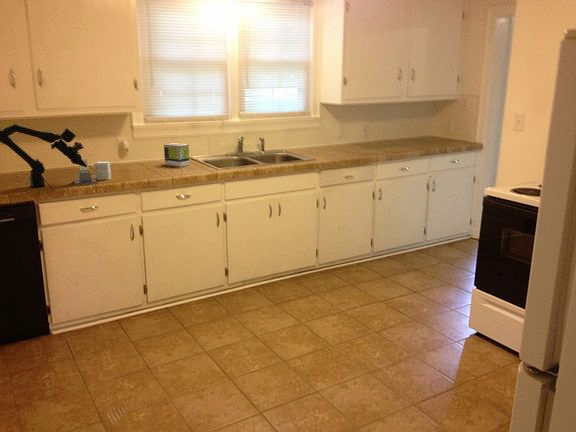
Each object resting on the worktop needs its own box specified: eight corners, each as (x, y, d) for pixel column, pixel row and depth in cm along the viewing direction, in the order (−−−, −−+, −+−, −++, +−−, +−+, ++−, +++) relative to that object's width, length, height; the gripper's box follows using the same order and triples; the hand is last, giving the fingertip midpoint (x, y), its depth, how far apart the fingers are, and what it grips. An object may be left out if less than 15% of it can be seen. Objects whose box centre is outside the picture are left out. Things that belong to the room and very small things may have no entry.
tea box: (190, 165, 378) (189, 144, 374) (180, 167, 370) (179, 146, 366) (174, 162, 386) (173, 142, 382) (164, 165, 378) (163, 144, 374)
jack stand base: (75, 185, 314) (74, 175, 312) (73, 181, 324) (72, 171, 323) (97, 183, 319) (96, 173, 317) (94, 179, 330) (93, 169, 328)
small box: (111, 177, 335) (110, 161, 332) (108, 179, 330) (107, 163, 327) (98, 177, 335) (97, 161, 332) (95, 179, 329) (94, 163, 326)
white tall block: (81, 177, 318) (79, 160, 315) (80, 175, 322) (79, 159, 319) (88, 176, 320) (87, 159, 317) (88, 175, 323) (86, 158, 321)
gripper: (75, 140, 305) (97, 158, 312) (72, 136, 321) (93, 153, 329) (62, 154, 304) (84, 172, 311) (59, 150, 320) (81, 167, 327)
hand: (86, 165), depth 320 cm, fingers closed on white tall block, 4 cm apart
